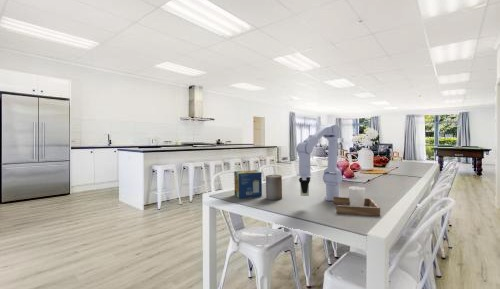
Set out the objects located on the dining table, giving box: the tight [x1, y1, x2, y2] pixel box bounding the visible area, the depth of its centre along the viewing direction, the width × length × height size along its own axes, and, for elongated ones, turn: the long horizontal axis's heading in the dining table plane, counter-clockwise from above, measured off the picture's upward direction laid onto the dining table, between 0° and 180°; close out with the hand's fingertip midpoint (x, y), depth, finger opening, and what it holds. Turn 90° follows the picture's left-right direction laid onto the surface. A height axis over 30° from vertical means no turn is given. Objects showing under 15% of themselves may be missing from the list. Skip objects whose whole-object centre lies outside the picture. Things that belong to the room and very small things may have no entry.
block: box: [299, 183, 310, 197], centre depth 129 cm, size 4×4×6 cm
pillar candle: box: [265, 174, 283, 201], centre depth 151 cm, size 10×10×15 cm
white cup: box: [348, 186, 366, 207], centre depth 129 cm, size 8×8×10 cm
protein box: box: [233, 169, 263, 199], centre depth 158 cm, size 10×15×16 cm
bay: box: [333, 196, 381, 216], centre depth 126 cm, size 19×19×4 cm
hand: (304, 192), depth 129 cm, fingers closed on block, 4 cm apart
